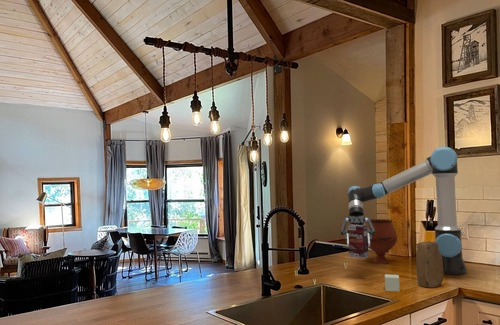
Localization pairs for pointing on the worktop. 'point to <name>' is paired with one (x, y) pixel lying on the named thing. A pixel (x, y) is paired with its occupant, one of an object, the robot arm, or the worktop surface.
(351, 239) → the supplement box
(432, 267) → the block
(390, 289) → the sage cube
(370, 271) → the worktop surface
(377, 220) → the goblet
